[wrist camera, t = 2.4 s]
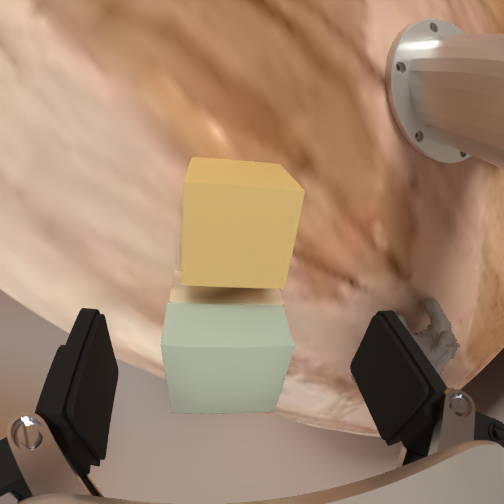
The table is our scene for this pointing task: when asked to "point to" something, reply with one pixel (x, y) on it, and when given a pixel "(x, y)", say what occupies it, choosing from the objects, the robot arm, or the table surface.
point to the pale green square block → (225, 357)
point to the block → (238, 223)
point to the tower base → (222, 294)
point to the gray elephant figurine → (435, 337)
